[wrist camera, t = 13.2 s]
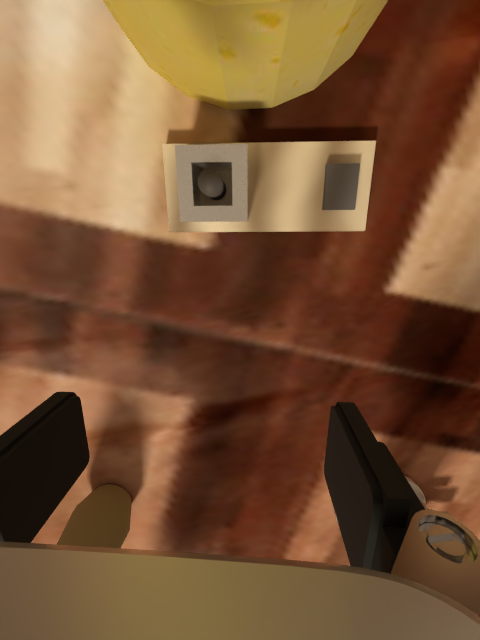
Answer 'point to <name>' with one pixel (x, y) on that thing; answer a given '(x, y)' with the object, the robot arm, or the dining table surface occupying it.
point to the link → (219, 159)
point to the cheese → (245, 44)
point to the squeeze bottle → (100, 519)
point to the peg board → (285, 187)
